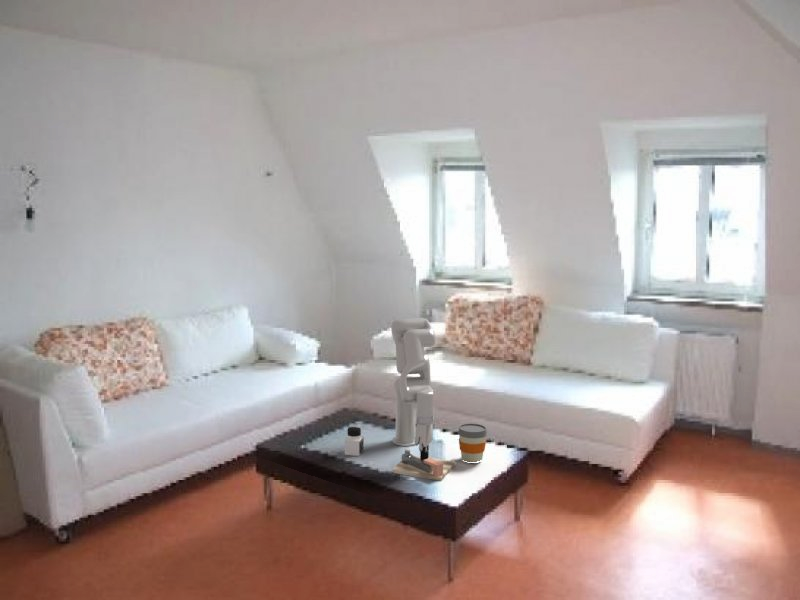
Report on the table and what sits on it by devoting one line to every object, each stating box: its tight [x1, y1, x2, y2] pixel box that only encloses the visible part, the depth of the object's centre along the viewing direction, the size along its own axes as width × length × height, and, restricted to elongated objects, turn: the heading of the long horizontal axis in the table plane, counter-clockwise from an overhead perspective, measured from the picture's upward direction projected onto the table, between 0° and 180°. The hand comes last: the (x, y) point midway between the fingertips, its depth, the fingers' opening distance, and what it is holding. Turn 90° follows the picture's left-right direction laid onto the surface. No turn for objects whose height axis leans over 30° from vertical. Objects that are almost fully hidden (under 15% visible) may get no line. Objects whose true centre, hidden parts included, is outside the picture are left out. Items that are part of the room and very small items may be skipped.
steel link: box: [401, 453, 433, 472], centre depth 280 cm, size 18×5×2 cm, turn 41°
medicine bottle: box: [344, 425, 365, 457], centre depth 299 cm, size 7×7×12 cm
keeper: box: [424, 457, 443, 477], centre depth 273 cm, size 8×4×5 cm, turn 43°
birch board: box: [391, 449, 456, 482], centre depth 281 cm, size 18×22×7 cm
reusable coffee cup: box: [457, 422, 488, 462], centre depth 291 cm, size 13×13×15 cm
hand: (424, 459), depth 284 cm, fingers closed
